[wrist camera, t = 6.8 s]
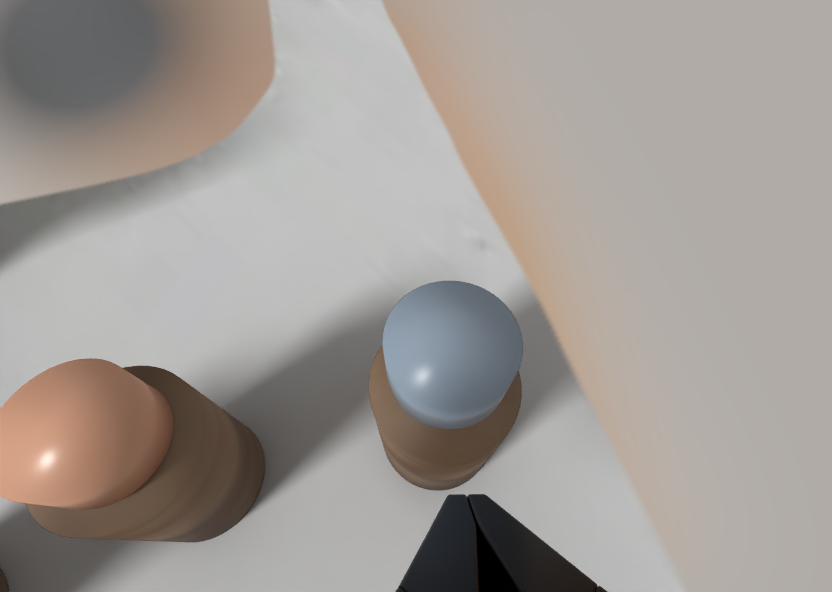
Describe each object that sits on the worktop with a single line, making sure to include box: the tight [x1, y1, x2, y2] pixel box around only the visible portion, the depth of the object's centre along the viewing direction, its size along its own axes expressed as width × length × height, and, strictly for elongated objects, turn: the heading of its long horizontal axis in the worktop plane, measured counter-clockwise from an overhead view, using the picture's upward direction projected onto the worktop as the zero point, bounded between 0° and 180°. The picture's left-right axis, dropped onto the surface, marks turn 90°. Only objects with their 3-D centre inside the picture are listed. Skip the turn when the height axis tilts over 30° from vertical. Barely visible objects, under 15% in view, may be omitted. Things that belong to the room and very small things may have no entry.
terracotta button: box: [0, 359, 174, 510], centre depth 14 cm, size 4×4×2 cm
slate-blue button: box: [382, 281, 523, 429], centre depth 14 cm, size 4×4×2 cm
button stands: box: [0, 345, 521, 592], centre depth 18 cm, size 30×8×8 cm, turn 111°
